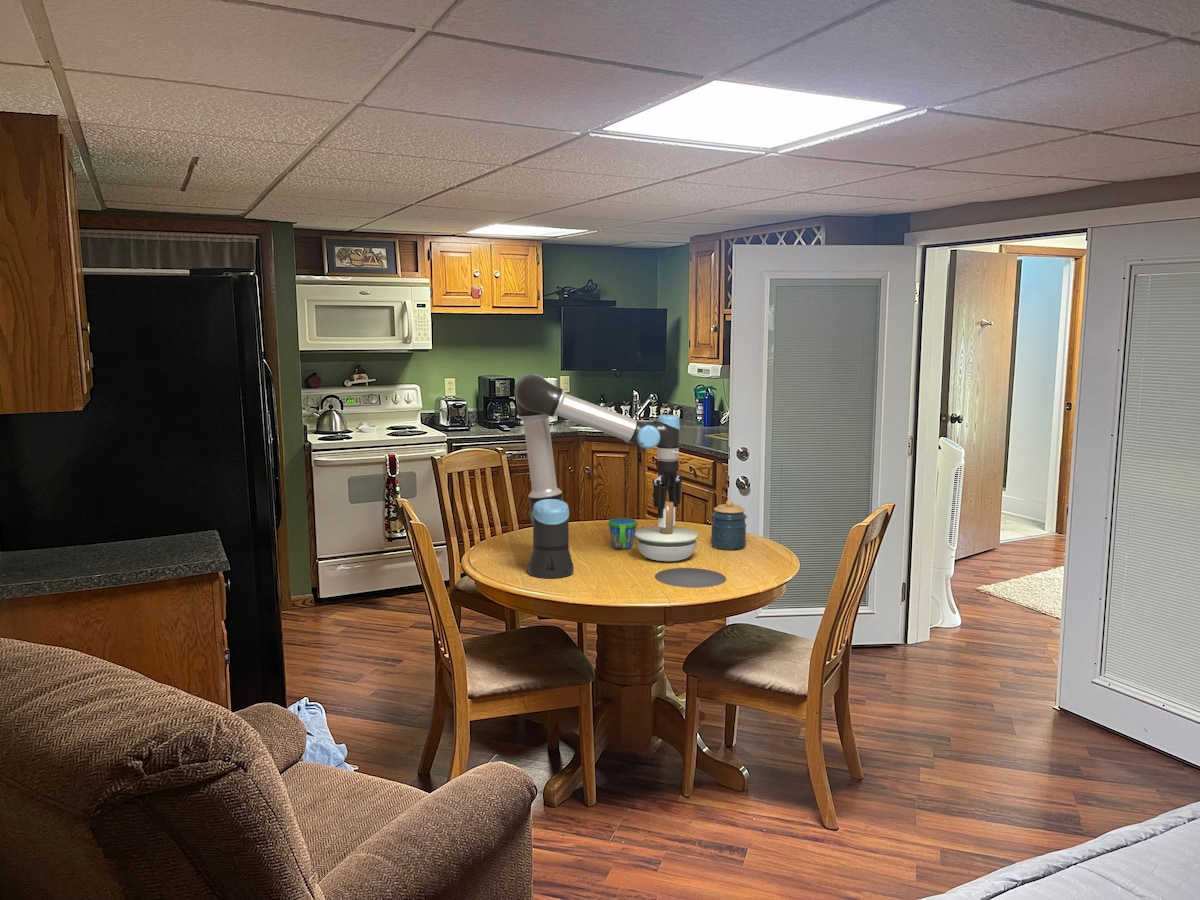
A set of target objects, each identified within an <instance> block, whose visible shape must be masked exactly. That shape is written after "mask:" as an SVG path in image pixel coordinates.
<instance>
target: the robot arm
mask: <svg viewBox="0 0 1200 900" xmlns="http://www.w3.org/2000/svg"><path fill="white" fill-rule="evenodd" d="M513 389H514V391H513V393H514V397H515V401H516V409H517V411H516V412H517V417H518V418H520V420H522V421H523V427H524V429H523V430H524V437H525V438H524V439H525V445H526V452H527V454H526V455H527V459H528V468H529V469H528V470H529V476H530V484H531V490H530V493H528V496H527V498H528V503H529V517H530V521H531V522H532V523H531V524H532V533H533V534H532V552H531V557H530V558H529V559H530V560H529V563H528V565H527V573H529V574H528V575H530V576H532V577H534V578H540V579H560V578H561V579H562V578H566V577H569V576H571V575H573V574H575V573H574V572H575V570H574V569H575V568H574V563H573V560H572V556H571V553H570V549H569V547H570V546H569V543H570V542H569V541H570V540H569V539H570V538H569V536H570V535H569V534H570V533H569V525H570V524H569V516H570V509H569V505H568V503H567V502H565V501H564V498H563V497H564V496H563V491H562V490H561V489H560V488H559V487H558V484H557V483H558V482H557V477H556V476H557V475H556V469H555V461H554V459H555V458H554V453H553V442H552V435H551V427H550V419H549V418H550V417H551V418H554V417H557V416H558V417H561V418H564V419H566V420H569V421H572V422H575V423H578V424H580V425H583V426H586V427H589V428H591V429H594V430H596V431H598V432H601V433H604V434H607V435H609V436H612V437H615V438H618V439H620V440H623V441H624V442H625V443H627V444H635V445H636V446H639V447H640V448H642V449H645V450H651V449H654V448H657V449H656V458H657V460H656V470H657V471H658V474H657V478H656V479H655V478H654V479H652V486H653V497H652V498H653V504H652V505H653V507H654V508H656V509H657V517H658V520H657V522H658V525H657V526H658V527H663V528H665V527H666V509H664V506H665V501H667V500H666V499H667V495H668V501H672V502H674V506H673V527H675V525H676V514H677V508H679V506H680V504H681V499H682V498H681V497H682V496H681V495H682V490H681V489H682V480H683V476H681V475H678V472H679V469H680V465H679V464H680V462H679V459H680V455H679V454H680V431H681V428H680V427H681V425H680V424H681V423H680V417H679V416H678V415H677V414H659V415H658V417H657V419H656V420H652V421H650V420H637V419H634V418H632V417H629V416H627V415H623V414H621V413H618V412H616V411H614V410H611V409H608V408H606V407H603V406H601V405H600V406H599V405H597V404H595V403H592V402H589V401H587V400H584V399H582V398H578V397H576V396H573V395H570V394H567V393H566V392H565V390H564V388H561V387H558V386H556V385H554V384H552V383H550V382H549V381H548V380H546V379H545V378H544V377H543V376H541V375H540V374H535V373H529V374H526V375H523V376H521V377H520V378H519V379H518V380H517V382H516V384H515V385H514V388H513Z"/></svg>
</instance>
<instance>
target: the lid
mask: <svg viewBox="0 0 1200 900" xmlns="http://www.w3.org/2000/svg"><path fill="white" fill-rule="evenodd" d="M673 506H674V502H672V501H669V500H665V506H664V509H666V527H665V528H663V527H658V525H657V526H648V527H642V528H639V529H636V530H635V534H634V537H636V539H641V540H644V541H649V542H656V543H684V542H690V541H694V540H696V541H697V539H698V538H699V532H698V531H696V530H694V529H690V528H686V527H681V526H680V527H679V526H673Z"/></svg>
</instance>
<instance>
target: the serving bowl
mask: <svg viewBox="0 0 1200 900" xmlns="http://www.w3.org/2000/svg"><path fill="white" fill-rule="evenodd" d="M636 544H637V548H638V551H639V552H640V553H641V555H643V557H645V558H647V559H650V560H653V561H658V562H666V563H668V562H669V563H670V562H677V561H682V560H685V559H688V558H689V557H690V556H692V555H693V554H694V553H695V550H696V547H697V539H696V540H694V541H690V542H684V543H656V542H649V541H644V540H641V539H638V538H636Z"/></svg>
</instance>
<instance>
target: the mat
mask: <svg viewBox="0 0 1200 900" xmlns="http://www.w3.org/2000/svg"><path fill="white" fill-rule="evenodd" d="M654 578H655V580H656V581H657V582H659V583H661V584H665V585H666V586H668V585H669V586H673V587H679V588H680V587H681V588H693V589H696V588H698V589H699V588H709V587H715V586H719V585H722V584H724V583H726V581H727V577H726V575H724V574H723V573H720V572H718V571H714V570H710V569H704V568H697V567H695V568H693V567H675V568H669V569H664V570H661V571H658V572H656V574H654Z"/></svg>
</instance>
